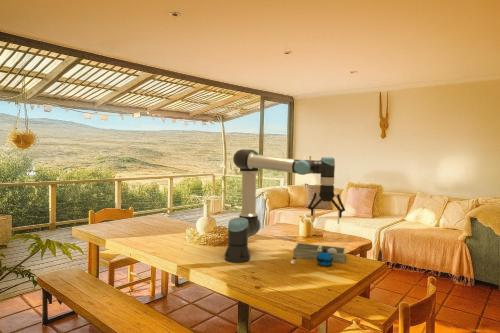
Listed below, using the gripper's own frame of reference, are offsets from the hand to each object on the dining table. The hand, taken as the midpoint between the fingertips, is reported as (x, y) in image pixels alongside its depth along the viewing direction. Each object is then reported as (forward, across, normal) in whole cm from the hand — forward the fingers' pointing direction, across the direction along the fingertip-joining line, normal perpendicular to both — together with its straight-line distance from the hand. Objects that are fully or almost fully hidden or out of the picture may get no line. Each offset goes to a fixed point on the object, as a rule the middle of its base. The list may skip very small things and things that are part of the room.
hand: (325, 222), depth 187 cm
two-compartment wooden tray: (+25, +4, -14) cm, 28 cm away
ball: (+24, -4, -14) cm, 28 cm away
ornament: (+25, 0, 0) cm, 25 cm away
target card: (+25, +15, -1) cm, 29 cm away
